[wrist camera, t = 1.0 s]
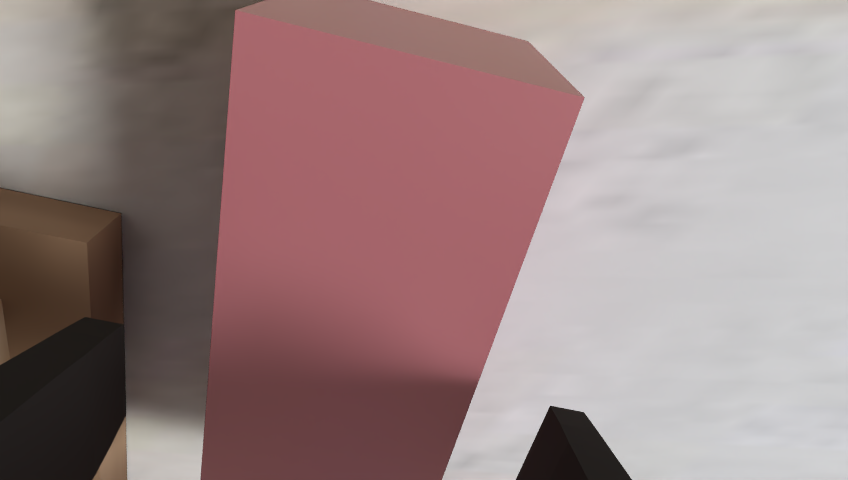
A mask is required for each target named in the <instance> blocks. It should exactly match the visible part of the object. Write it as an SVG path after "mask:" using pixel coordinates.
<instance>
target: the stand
mask: <svg viewBox="0 0 848 480" xmlns="http://www.w3.org/2000/svg"><path fill="white" fill-rule="evenodd" d="M84 317H88V318H93V319H99V320H104V321H109V322H114V323H120V324H124V318H123V273H122V228H121V213H117V212H112V211H107V210H102V209H97V208H93V207H88V206H83V205H78V204H74V203H69V202H64V201H59V200H55V199H50V198H45V197H40V196H35V195H31V194H26V193H21V192H16V191H12V190H7V189H2V188H0V365H1V364H3V363H5V362H6V361H8V360H10V359H12V358H13V357H15V356H17V355H19V354H20V353H22V352H24V351H26V350H27V349H29V348H31V347H33V346H34V345H36V344H38V343H39V342H41V341H43V340H45V339H46V338H48V337H50V336H52V335H53V334H55V333H57V332H59V331H60V330H62V329H64V328H66V327H67V326H69V325H71V324H73V323H75V322H77V321H78V320H80V319H82V318H84ZM92 480H127V452H126V417H125V419H124V421H123V423H122V425H121V427H120V429H119V431H118V433H117V435H116V437H115V439H114V441H113V443H112V445H111V447H110V449H109V450H108V452H107V454H106V456H105V458H104V460H103V462H102V464H101V465H100V467H99V469H98V471H97V473H96V475H95V476H94V478H93V479H92Z"/></svg>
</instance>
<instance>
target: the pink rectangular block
mask: <svg viewBox="0 0 848 480" xmlns="http://www.w3.org/2000/svg"><path fill="white" fill-rule="evenodd" d="M584 98H585V97H584V96H583V95H582V94H581V93H580V92H579V91H578V90H577V89H576V88H575V87H574V86H573V85H572V84H571V83H570V82H569V81H567V80H566V79H565V78H564V77H563V76H562V75H561V74H560V73H559V72H558V71H557V70H556V69H555V68H554V67H553V66H552V65H551V64H550V63H549V62H548V61H547V60H546V59H545V58H544V57H543V56H542V55H541V54H540V53H539V52H538V51H537V50H536V49H535V48H534V47H533V46H532V45H531V44H530V43H529V42H528V41H525V40H521V39H517V38H513V37H509V36H505V35H501V34H498V33H494V32H490V31H486V30H482V29H478V28H474V27H471V26H467V25H463V24H459V23H455V22H451V21H447V20H443V19H440V18H436V17H432V16H428V15H424V14H420V13H416V12H412V11H409V10H405V9H401V8H397V7H393V6H389V5H385V4H382V3H378V2H374V1H370V0H265V1H262V2H258V3H255V4H252V5H249V6H246V7H243V8H240V9H237V10H235V21H234V35H233V48H232V62H231V75H230V89H229V103H228V116H227V130H226V143H225V157H224V170H223V184H222V197H221V211H220V224H219V238H218V251H217V265H216V278H215V292H214V305H213V319H212V332H211V346H210V359H209V373H208V386H207V400H206V413H205V427H204V440H203V454H202V467H201V480H442V478H443V475H444V472H445V470H446V467H447V464H448V462H449V459H450V456H451V454H452V451H453V448H454V446H455V443H456V440H457V438H458V435H459V432H460V430H461V427H462V424H463V421H464V419H465V416H466V413H467V411H468V408H469V405H470V403H471V400H472V397H473V395H474V392H475V389H476V387H477V384H478V381H479V379H480V376H481V373H482V371H483V368H484V365H485V363H486V360H487V357H488V355H489V352H490V349H491V347H492V344H493V341H494V338H495V336H496V333H497V330H498V328H499V325H500V322H501V320H502V317H503V314H504V312H505V309H506V306H507V304H508V301H509V298H510V296H511V293H512V290H513V288H514V285H515V282H516V280H517V277H518V274H519V272H520V269H521V266H522V264H523V261H524V258H525V256H526V253H527V250H528V247H529V245H530V242H531V239H532V237H533V234H534V231H535V229H536V226H537V223H538V221H539V218H540V215H541V213H542V210H543V207H544V205H545V202H546V199H547V197H548V194H549V191H550V189H551V186H552V183H553V181H554V178H555V175H556V173H557V170H558V167H559V164H560V162H561V159H562V156H563V154H564V151H565V148H566V146H567V143H568V140H569V138H570V135H571V132H572V130H573V127H574V124H575V122H576V119H577V116H578V114H579V111H580V108H581V106H582V103H583V100H584Z"/></svg>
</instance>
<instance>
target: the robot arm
mask: <svg viewBox="0 0 848 480" xmlns="http://www.w3.org/2000/svg"><path fill="white" fill-rule="evenodd" d="M125 417H126V391H125V351H124V324H120V323H114V322H109V321H104V320H99V319H93V318H88V317H84V318H82V319H80V320H78V321H77V322H75V323H73V324H71V325H69V326H67V327H66V328H64V329H62V330H60V331H59V332H57V333H55V334H53V335H52V336H50V337H48V338H46V339H45V340H43V341H41V342H39V343H38V344H36V345H34V346H33V347H31V348H29V349H27V350H26V351H24V352H22V353H20V354H19V355H17V356H15V357H13V358H12V359H10V360H8V361H6V362H5V363H3V364H1V365H0V480H92V479H93V478H94V476H95V475H96V473H97V471H98V469H99V467H100V465H101V464H102V462H103V460H104V458H105V456H106V454H107V452H108V450H109V449H110V447H111V445H112V443H113V441H114V439H115V437H116V435H117V433H118V431H119V429H120V427H121V425H122V423H123V421H124V419H125ZM516 480H632V479H631V478H630V476H629V475H628V474H627V472H626V471H625V469H624V468H623V467H622V465H621V464H620V462H619V461H618V459H617V458H616V457H615V455H614V454H613V452H612V451H611V450H610V448H609V447H608V445H607V444H606V442H605V441H604V440H603V438H602V437H601V435H600V434H599V432H598V431H597V430H596V428H595V427H594V426H593V424H592V423H591V421H590V420H589V419H588V417H587V416H586V415H585V413H584V412H580V411H574V410H569V409H564V408H559V407H554V406H550V407H549V410H548V412H547V414H546V416H545V418H544V420H543V423H542V425H541V427H540V429H539V431H538V433H537V435H536V438H535V440H534V442H533V444H532V446H531V448H530V450H529V453H528V455H527V457H526V459H525V461H524V463H523V466H522V468H521V470H520V472H519V474H518V476H517V478H516Z"/></svg>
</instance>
